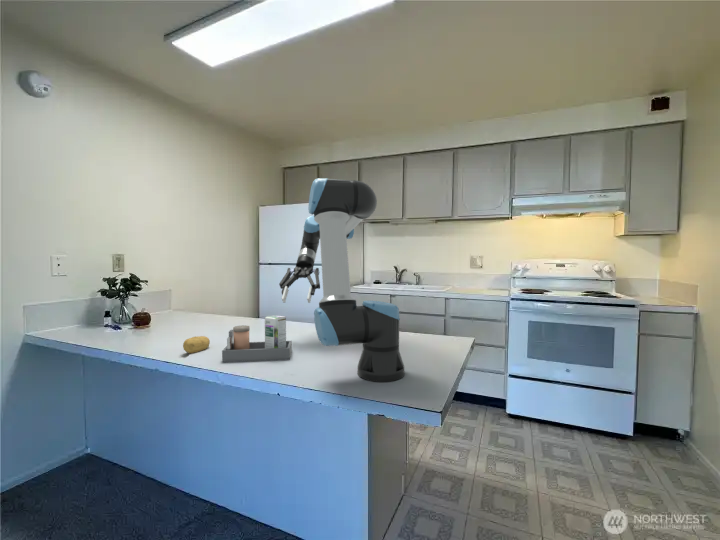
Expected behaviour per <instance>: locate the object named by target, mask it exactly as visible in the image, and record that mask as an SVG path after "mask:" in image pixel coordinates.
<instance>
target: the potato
mask: <svg viewBox="0 0 720 540" xmlns="http://www.w3.org/2000/svg"><path fill="white" fill-rule="evenodd" d="M210 342H211V341H210V338H209V337H207V336H205V335H200V336H198V335H197V336H192V337H189V338H187V339H185V340H184V342H183V344H182V347H183V351H185V352H186V353H188V354H195V353H198V352H202V351H203V350H206V349H208V348H209V346H210V344H211V343H210Z"/></svg>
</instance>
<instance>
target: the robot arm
mask: <svg viewBox="0 0 720 540" xmlns="http://www.w3.org/2000/svg"><path fill="white" fill-rule="evenodd" d="M377 205H378V199H377V195H376V192H375V191H374V190H373V188H372V187H371V186H370V185H368V184H367V183H365V182H364V181H361V180H355V179H353V180H352V179H339V178H338V179H336V178H328V177H326V178H321V177H320V178H319V177H318V178H315V179H314V180H313V181H312V184H311V187H310V192H309V198H308V214H311V215H310V216H308V217H307V218H306V219H305V221H304V226H303V234H302V240H301V241H302V242H301V245H300V249H299V252H298V256H297V259H296V263H295V267H294V268H290V267H288V268H287V269H286V270H287V271H286V273H285V274H284V276H283V277H282V279H281V280H280V282H279V284H278V285H279V287H280V289H282V290H281V295H282V296H281V300H282V303H286V301H287V297H288V294H289V290H290V289H289V288H290V287H291V286H292V285H293V284H294V283H295V282H296V281H298V279H302V278H303V279H307V280H308V283H310V285H309V288H308V293H307V296H306V300H307V303H308V304H310V303H311V299H312V296H314V295H315V293H316V290H317V289H318V290H320V289H321V284H320V283H321V282H320V269H319V268H318V267H316V268H314V265H315V261H316V257H317V252H318V247H319V245H320V255H321V256H320V258H321V261H320V262H321V274H322V275H321V276H322V277H321V278H322V279H321V280H322V291H323V292H322V293H323V294H322V295H323V297H322V299H321V300H319V302H318V307H316V308H314V312H313V315H314V317H313V319H314V326H315V331H316V335H317V338H318V340H319V342H320V343H321V344H322V345H323V346H324V347H331V346H332V347H333V346H335V347H338V346H346V345H347V346H349V345H357V344H359V345H360V344H362V350H361V354H360V358H359V360H358V364H357V375H358V377H360V378H361V377H362V379H363V378H364V380H366V379H367V381H370V380H371V382H377V381H378V382H382V383H384V382H394V381H398V380H400V379H402V378H403V377H404V376H405V365H404V361H403V358H402V355H401V352H400V319H401V318H400V309H399V307H398V305H396V304H394V303H391V302H386V301H378V300H370V299H369V300H363V301H362V303H361V304H362V305H357V299H356V298H355V297H354V296H353V295H352V294H351V281H350V279H351V278H350V266H349V255H348V253H349V251H348V240H351V239H352V238H353V237H354V234H355V228H356V227H357V226H358V225H359V224H360V223H361V222H362V221H363V220H366V219H369V218H370V217H371V216H372V215H373V214H374V213H375V211H376V209H377ZM311 274H314V276H315V282H314V280H313V279H312V276H311ZM315 283H316V284H315Z"/></svg>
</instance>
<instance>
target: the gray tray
mask: <svg viewBox="0 0 720 540" xmlns="http://www.w3.org/2000/svg"><path fill="white" fill-rule="evenodd" d="M249 342H250V349H241V350H227V345H226V346H225V347H224V348H223V349H222V350H221V355H222V356H221V357H222V358H221V359H222V361H221V362H222V363H236V362H237V363H238V362H259V361H260V362H261V361H263V362H265V361H283V360H284V361H287V360H289V361H290V360H291V355H292V351H293V346H292V343H293V341H292V340H286V348H268V349H265V341H249Z"/></svg>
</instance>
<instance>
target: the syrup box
mask: <svg viewBox="0 0 720 540" xmlns="http://www.w3.org/2000/svg"><path fill="white" fill-rule="evenodd" d="M286 341H287V316H283V315H282V316H281V315H267V316H266V317H264V342H265V349H268V348H286Z"/></svg>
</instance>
